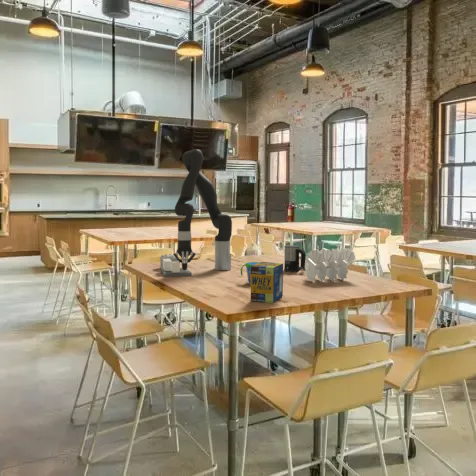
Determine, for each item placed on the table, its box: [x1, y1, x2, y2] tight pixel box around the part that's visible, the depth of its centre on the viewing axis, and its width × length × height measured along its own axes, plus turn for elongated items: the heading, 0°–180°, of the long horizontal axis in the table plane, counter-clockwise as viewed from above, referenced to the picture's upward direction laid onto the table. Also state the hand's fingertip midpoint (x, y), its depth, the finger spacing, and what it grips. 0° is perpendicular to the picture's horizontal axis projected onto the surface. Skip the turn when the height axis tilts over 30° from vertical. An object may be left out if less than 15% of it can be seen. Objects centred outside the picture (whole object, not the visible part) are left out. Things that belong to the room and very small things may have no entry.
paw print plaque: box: [159, 253, 179, 270], centre depth 321 cm, size 10×13×9 cm
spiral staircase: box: [304, 247, 356, 282], centre depth 280 cm, size 18×18×25 cm
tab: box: [172, 261, 181, 273], centre depth 295 cm, size 4×4×6 cm
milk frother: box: [283, 244, 307, 272], centre depth 316 cm, size 14×16×15 cm
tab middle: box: [164, 260, 172, 271], centre depth 300 cm, size 4×4×6 cm
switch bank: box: [160, 267, 192, 278], centre depth 302 cm, size 15×19×2 cm
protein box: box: [250, 261, 284, 304], centre depth 233 cm, size 10×15×16 cm
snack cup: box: [240, 261, 260, 284], centre depth 273 cm, size 16×10×10 cm
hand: (184, 269), depth 296 cm, fingers closed
